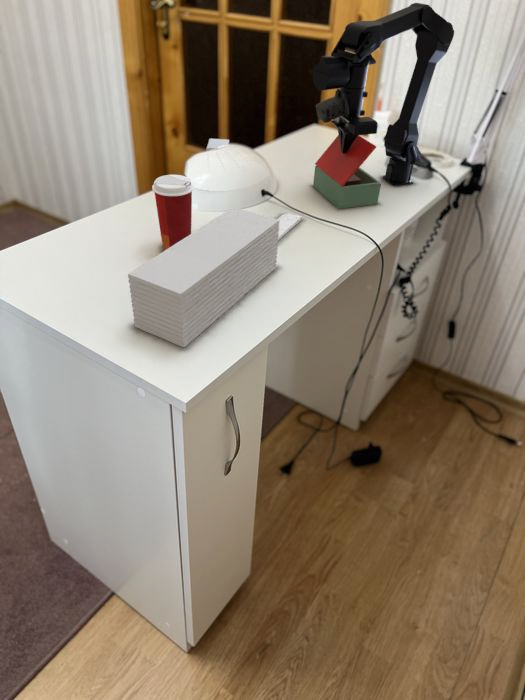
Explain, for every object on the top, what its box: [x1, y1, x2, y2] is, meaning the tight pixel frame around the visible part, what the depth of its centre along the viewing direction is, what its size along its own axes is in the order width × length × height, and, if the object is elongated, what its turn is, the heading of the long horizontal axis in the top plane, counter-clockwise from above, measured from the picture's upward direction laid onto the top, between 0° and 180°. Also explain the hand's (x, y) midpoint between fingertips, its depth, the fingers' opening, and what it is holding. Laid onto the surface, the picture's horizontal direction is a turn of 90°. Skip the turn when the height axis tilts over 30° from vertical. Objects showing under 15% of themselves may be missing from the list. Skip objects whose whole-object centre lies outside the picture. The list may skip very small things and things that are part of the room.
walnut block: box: [344, 175, 361, 186], centre depth 141 cm, size 5×4×4 cm
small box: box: [205, 138, 231, 151], centre depth 142 cm, size 8×6×10 cm
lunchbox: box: [312, 165, 382, 210], centre depth 141 cm, size 11×15×6 cm
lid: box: [314, 134, 377, 187], centre depth 135 cm, size 12×15×1 cm
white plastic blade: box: [277, 212, 302, 241], centre depth 124 cm, size 5×15×1 cm, turn 152°
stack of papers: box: [127, 206, 279, 348], centre depth 99 cm, size 32×11×11 cm, turn 150°
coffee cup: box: [151, 174, 194, 251], centre depth 111 cm, size 8×8×15 cm
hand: (343, 152), depth 135 cm, fingers closed, pressing on lid
